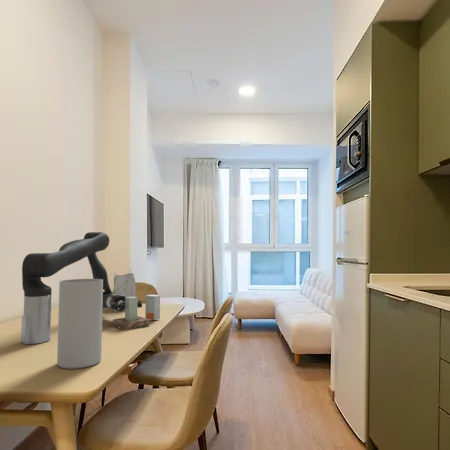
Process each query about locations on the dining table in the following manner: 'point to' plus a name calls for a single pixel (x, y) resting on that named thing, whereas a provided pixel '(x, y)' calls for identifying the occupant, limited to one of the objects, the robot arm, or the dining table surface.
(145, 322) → the well block
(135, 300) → the green post
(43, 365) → the dining table surface
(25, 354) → the dining table surface
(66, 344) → the cylinder vase
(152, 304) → the skincare box
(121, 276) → the grocery bag
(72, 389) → the dining table surface
